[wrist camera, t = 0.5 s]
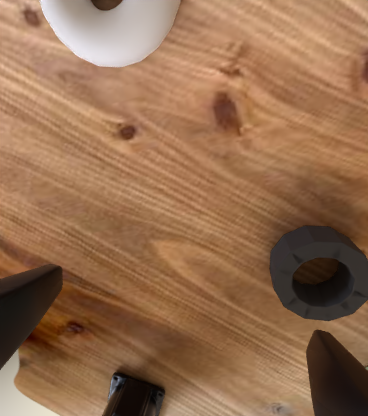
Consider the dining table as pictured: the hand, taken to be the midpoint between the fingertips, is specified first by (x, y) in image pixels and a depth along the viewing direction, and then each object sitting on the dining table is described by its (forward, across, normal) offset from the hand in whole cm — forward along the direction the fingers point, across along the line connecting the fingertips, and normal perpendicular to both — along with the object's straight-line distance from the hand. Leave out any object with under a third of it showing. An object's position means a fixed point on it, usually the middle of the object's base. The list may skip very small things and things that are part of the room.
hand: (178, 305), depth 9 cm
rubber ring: (+14, -9, +4) cm, 17 cm away
